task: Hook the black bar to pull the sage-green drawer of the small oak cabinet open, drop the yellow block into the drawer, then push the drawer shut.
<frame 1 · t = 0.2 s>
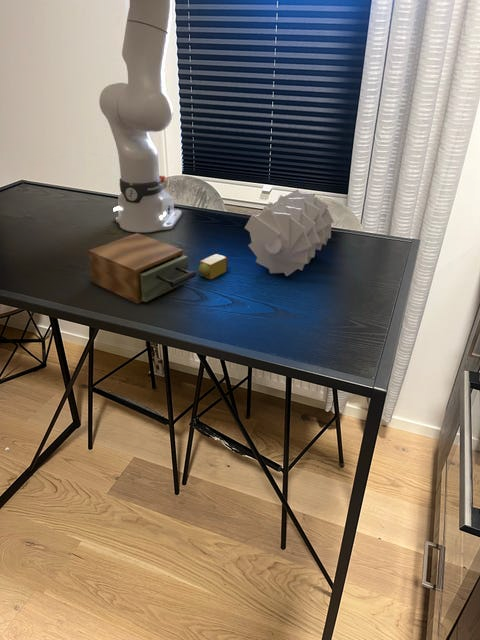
cabinet: (138, 282, 118), on the table
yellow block: (213, 273, 123), on the table
drawer: (153, 273, 113), point 4 cm above the table, slide at 0.8 cm
spiral staircase: (288, 262, 131), on the table
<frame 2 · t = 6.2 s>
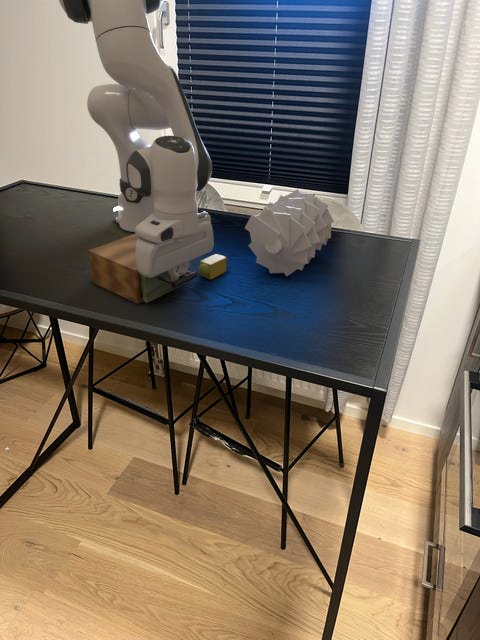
hand: (178, 281, 108), 5 cm above the table, tool pointing down, fingers closed, pressing on drawer
drawer: (155, 273, 113), point 4 cm above the table, slide at 1.3 cm, touching gripper
everything else where it was.
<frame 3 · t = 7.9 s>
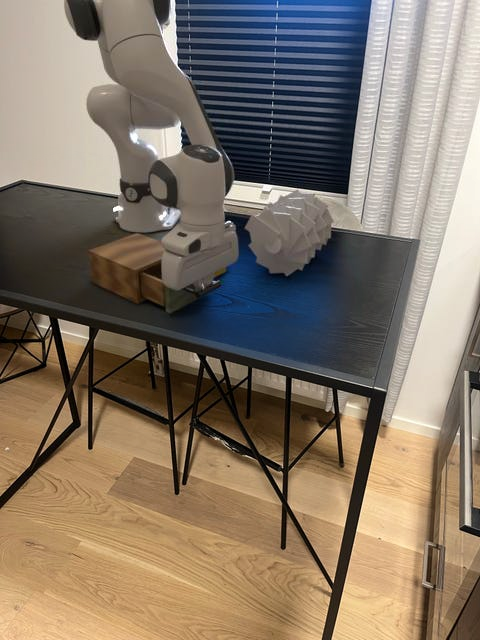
hand: (203, 293, 105), 4 cm above the table, tool pointing down, fingers closed
drawer: (176, 282, 109), point 4 cm above the table, slide at 8.2 cm, touching gripper
everything else where it was.
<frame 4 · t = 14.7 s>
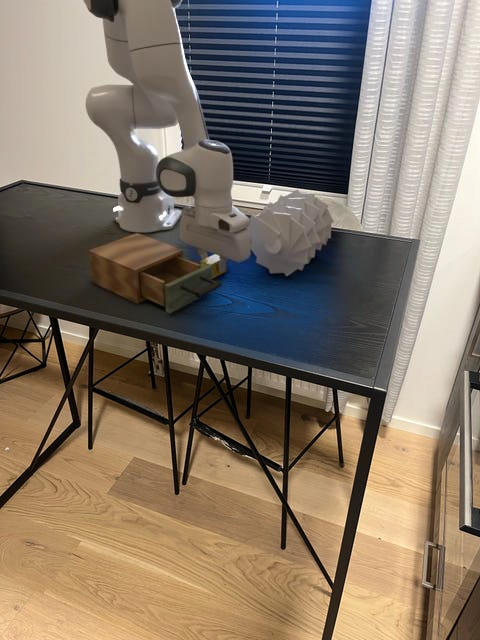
hand: (213, 267, 123), 2 cm above the table, tool pointing down, fingers closed on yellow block, 3 cm apart
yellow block: (213, 273, 124), on the table, touching gripper
drawer: (176, 282, 109), point 4 cm above the table, slide at 8.2 cm
everything else where it was.
when the fingers open (6 cm above the table, at t = 20.7 s): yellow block drops 2 cm, resting on drawer.
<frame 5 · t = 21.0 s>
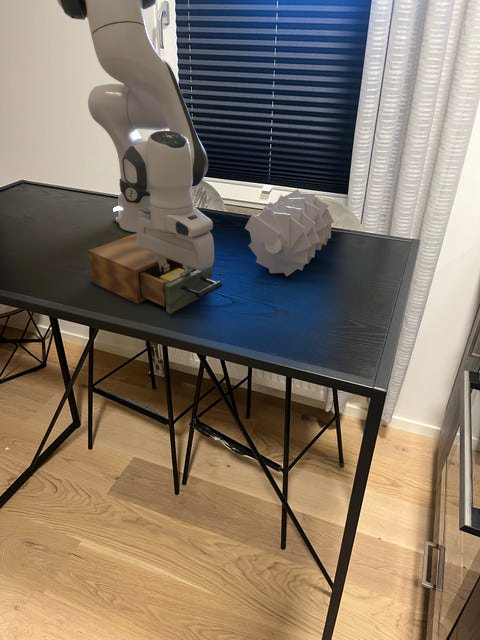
hand: (174, 276, 109), 6 cm above the table, tool pointing down, fingers open, 5 cm apart
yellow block: (175, 290, 111), point 2 cm above the table, touching drawer
drawer: (177, 283, 109), point 4 cm above the table, slide at 8.4 cm, touching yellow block, gripper
everything else where it was.
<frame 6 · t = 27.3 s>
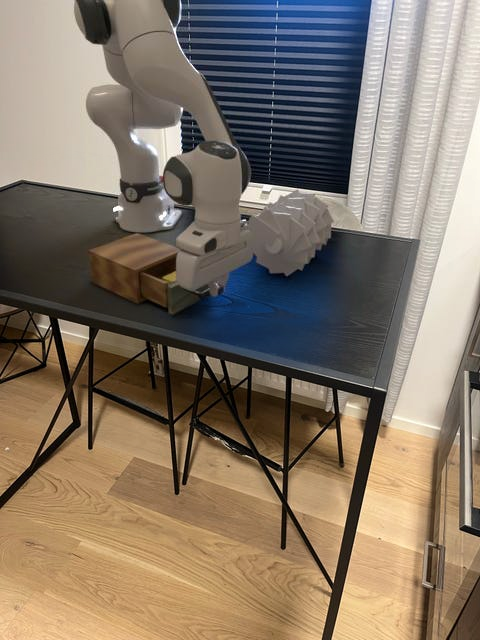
hand: (217, 293, 103), 6 cm above the table, tool pointing down, fingers closed
drawer: (179, 283, 109), point 4 cm above the table, slide at 9.0 cm, touching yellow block, gripper
everything else where it was.
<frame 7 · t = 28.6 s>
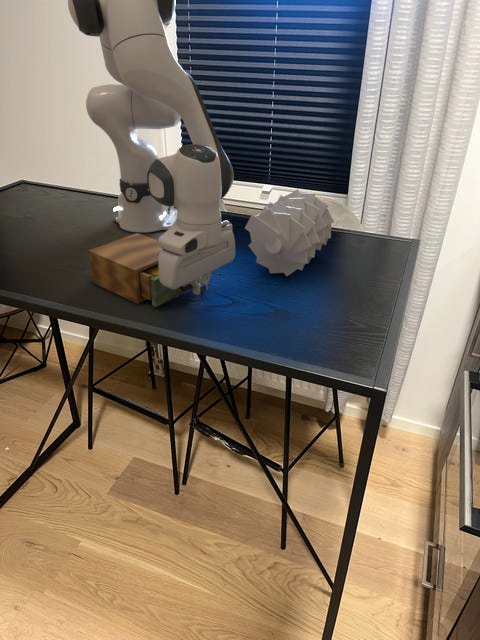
hand: (200, 291, 106), 4 cm above the table, tool pointing down, fingers closed, pressing on drawer
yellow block: (162, 284, 113), point 2 cm above the table, touching drawer
drawer: (163, 277, 112), point 4 cm above the table, slide at 4.0 cm, touching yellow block, gripper
everything else where it was.
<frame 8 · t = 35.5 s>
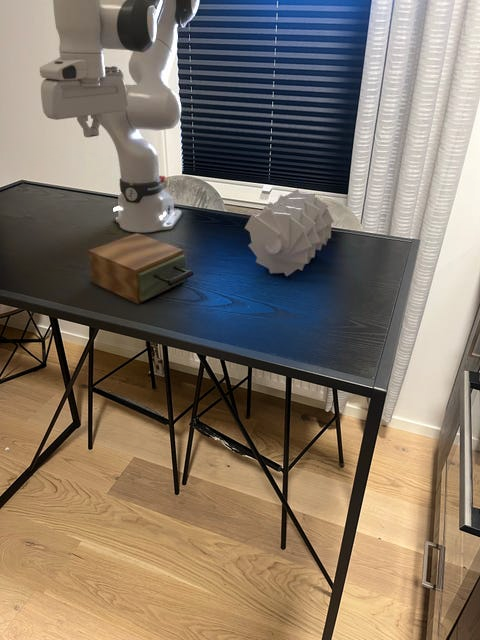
hand: (91, 136, 111), 31 cm above the table, tool pointing down, fingers closed
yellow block: (149, 279, 115), point 2 cm above the table, touching drawer
drawer: (151, 272, 114), point 4 cm above the table, slide at 0.0 cm, touching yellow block, cabinet
everything else where it was.
at the end: drawer pulled out 9.7 cm at the most during the clip, back to where it started at the end; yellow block 4.0 cm from the cabinet (horizontally); drawer slide at 0.0 cm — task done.
